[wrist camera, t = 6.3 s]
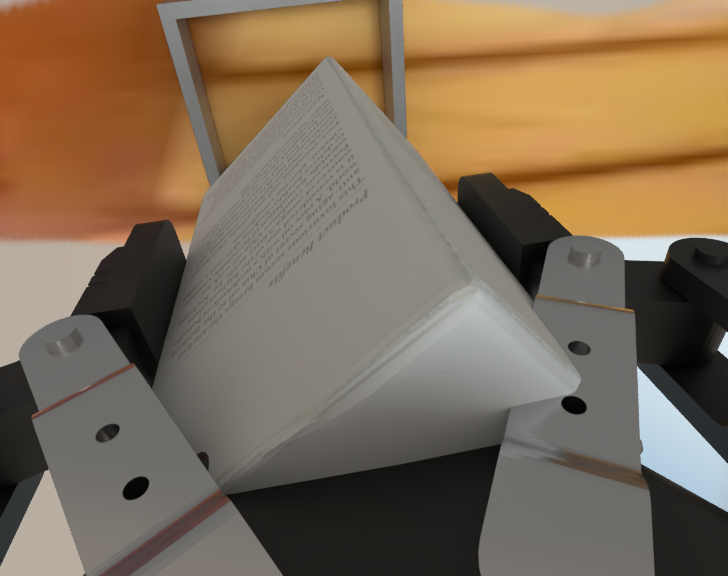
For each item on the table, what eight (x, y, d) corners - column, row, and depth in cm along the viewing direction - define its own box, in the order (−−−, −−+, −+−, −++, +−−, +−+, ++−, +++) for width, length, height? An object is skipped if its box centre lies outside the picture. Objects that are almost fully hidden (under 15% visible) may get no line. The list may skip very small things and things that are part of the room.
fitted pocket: (390, -25, 22) (401, -23, 20) (398, 155, 28) (407, 171, 26) (167, -1, 22) (156, 4, 20) (218, 180, 27) (213, 198, 25)
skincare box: (299, 265, 18) (330, 647, 8) (201, 192, 15) (78, 594, 6) (423, 147, 16) (663, 458, 6) (330, 45, 14) (472, 275, 4)
